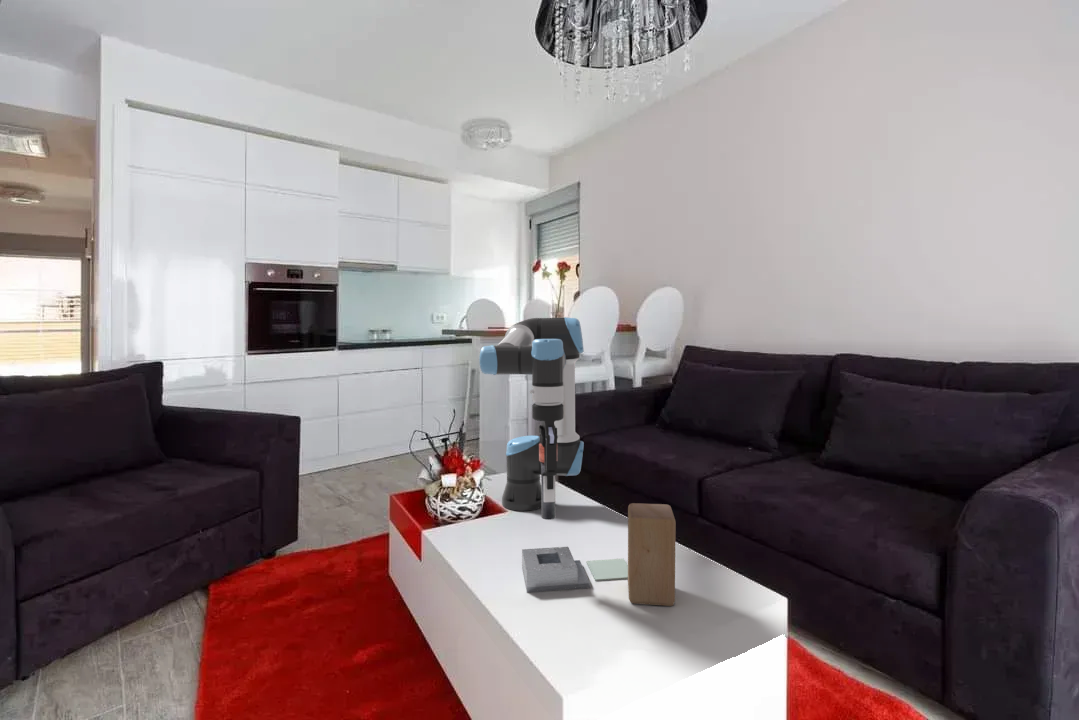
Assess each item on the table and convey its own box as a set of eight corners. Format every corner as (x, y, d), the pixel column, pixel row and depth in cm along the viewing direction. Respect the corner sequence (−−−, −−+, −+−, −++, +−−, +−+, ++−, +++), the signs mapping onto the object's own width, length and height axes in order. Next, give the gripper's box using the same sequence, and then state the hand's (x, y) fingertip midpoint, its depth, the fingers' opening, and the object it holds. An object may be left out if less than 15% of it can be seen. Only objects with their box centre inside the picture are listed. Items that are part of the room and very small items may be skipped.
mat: (586, 562, 135) (586, 560, 135) (623, 559, 136) (623, 558, 136) (595, 581, 125) (595, 579, 125) (635, 578, 126) (635, 576, 126)
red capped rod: (538, 514, 127) (537, 442, 126) (556, 513, 128) (555, 441, 127) (540, 520, 123) (540, 446, 122) (558, 519, 123) (558, 445, 122)
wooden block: (628, 605, 114) (629, 516, 113) (627, 582, 124) (628, 501, 122) (675, 608, 112) (676, 519, 111) (670, 585, 122) (671, 503, 121)
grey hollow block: (522, 568, 131) (521, 549, 131) (579, 564, 133) (579, 545, 133) (526, 592, 120) (526, 571, 119) (590, 587, 121) (590, 567, 121)
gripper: (528, 398, 131) (529, 488, 133) (536, 408, 115) (537, 511, 116) (557, 398, 132) (558, 487, 134) (569, 407, 116) (569, 509, 117)
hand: (548, 498), depth 125 cm, fingers closed on red capped rod, 3 cm apart
